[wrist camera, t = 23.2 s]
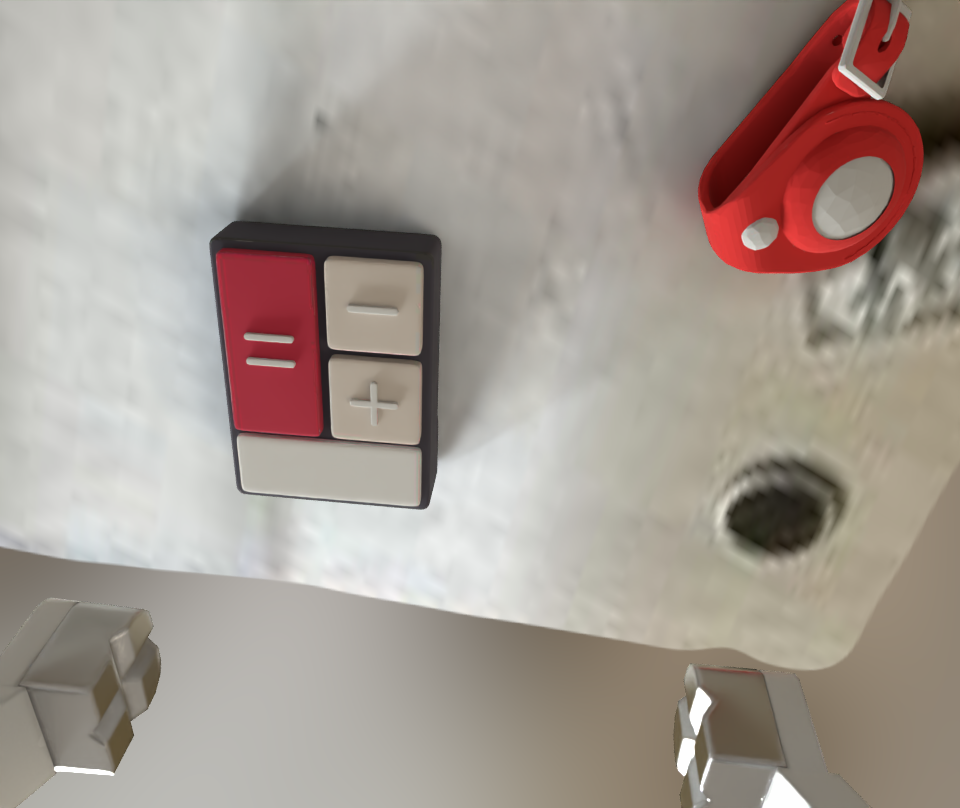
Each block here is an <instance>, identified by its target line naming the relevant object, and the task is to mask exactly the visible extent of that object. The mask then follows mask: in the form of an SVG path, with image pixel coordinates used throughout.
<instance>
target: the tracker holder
mask: <svg viewBox="0 0 960 808" xmlns="http://www.w3.org/2000/svg"><path fill="white" fill-rule="evenodd" d="M911 14H912V12H911V9H909V8H908V7H907V6H906V5H905V4H904V3H903V2H902V0H847V1H846V2H845V3H843V4H842V5H841V6H840V7H839V8H838V9H836V10H835V11H834V12H833V13H832V14H831V16H830V17H829V18H828V19H827V20H826V21H825V23H824V24H823V25H822V26H821V27H820V29H819V30H818V31H817V32H816V33H815V35H814V36H813V37H812V38H811V39H810V41H809V42H808V43H807V44H806V46H805V47H804V48H803V49H802V51H801V52H800V53H799V54H798V56H797V57H796V58H795V60H794V61H793V62H792V63H791V65H790V66H789V67H788V68H787V69H786V71H785V72H784V73H783V74H782V75H781V76H780V78H779V79H778V80H777V81H776V82H775V84H774V85H773V86H772V87H771V88H770V89H769V91H768V92H767V93H766V94H765V95H764V97H763V98H762V99H761V100H760V101H759V102H758V104H757V105H756V106H755V107H754V108H753V110H752V111H751V112H750V113H749V114H748V115H747V117H746V118H745V119H744V120H743V121H742V122H741V124H740V125H739V126H738V127H737V128H736V130H735V131H734V132H733V133H732V134H731V135H730V137H729V138H728V139H727V140H726V141H725V142H724V144H723V145H722V146H721V147H720V148H719V149H718V151H717V152H716V153H715V154H714V155H713V157H712V158H711V160H710V161H709V163H708V164H707V166H706V167H705V169H704V171H703V173H702V176H701V178H700V182H699V187H698V198H699V203H700V207H701V211H702V216H703V220H704V224H705V228H706V233H707V236H708V239H709V243H710V245H711V247H712V248H713V250H714V251H715V252H716V254H717V255H718V256H719V257H720V258H721V259H722V260H723V261H724V262H725V263H726V264H728V265H731V266H733V267H735V268H737V269H740V270H743V271H747V272H754V273H804V272H815V271H821V270H826V269H831V268H835V267H839V266H842V265H845V264H847V263H849V262H852V261H853V260H855V259H857V258H858V257H860V256H861V255H863V254H865V253H866V252H867V251H869V250H870V249H871V248H872V247H874V246H875V245H876V244H877V243H879V242H880V241H881V240H882V239H883V238H884V237H885V236H886V235H887V234H888V233H889V231H890V230H891V229H892V228H893V227H894V226H895V225H896V223H897V222H898V221H899V219H900V218H901V217H902V215H903V214H904V212H905V210H906V209H907V207H908V205H909V204H910V202H911V200H912V198H913V196H914V194H915V192H916V189H917V186H918V183H919V180H920V177H921V172H922V167H923V143H922V138H921V135H920V132H919V129H918V127H917V125H916V124H915V122H914V121H913V119H912V118H911V117H910V116H909V115H908V114H907V113H906V112H905V111H904V110H902V109H901V108H900V107H898V106H895V105H893V104H891V103H889V102H887V101H884V100H880V99H882V98H884V97H885V95H886V92H887V89H888V86H889V83H890V80H891V76H892V73H893V70H894V67H895V64H896V61H897V58H898V57H899V55H900V53H901V52H902V50H903V48H904V45H905V42H906V39H907V34H908V29H909V21H910V18H911ZM836 36H837V37H836ZM835 37H836V38H835ZM834 38H835V39H834ZM871 96H872V97H873V98H875V99H872V98H871ZM749 172H750V173H749ZM746 176H747V177H746ZM745 177H746V178H745ZM744 178H745V179H744ZM743 179H744V180H743Z"/></svg>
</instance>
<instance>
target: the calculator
mask: <svg viewBox="0 0 960 808" xmlns="http://www.w3.org/2000/svg"><path fill="white" fill-rule="evenodd" d="M210 255H211V264H212V273H213V282H214V291H215V299H216V308H217V317H218V326H219V335H220V343H221V352H222V361H223V370H224V379H225V387H226V396H227V405H228V414H229V423H230V431H231V440H232V449H233V458H234V467H235V475H236V484H237V489H238V490H239V491H240V492H241V493H243V494H250V495H261V496H272V497H284V498H295V499H306V500H318V501H329V502H340V503H351V504H363V505H374V506H385V507H397V508H408V509H421V510H422V509H426V508H427V507H428V506H429V503H430V499H431V495H432V491H433V487H434V483H435V478H436V474H437V455H438V417H437V406H438V366H439V326H440V286H441V241H440V239H439V238H438V237H437V236H435V235H427V234H413V233H399V232H385V231H371V230H357V229H343V228H329V227H315V226H301V225H287V224H273V223H258V222H244V221H234V222H232V223H230V224H229V225H228V226H227V227H225V228H224V229H223V230H222V231H220V232H219V233H218V234H217V235H215V236H214V237H213V238H212V239H211V241H210Z"/></svg>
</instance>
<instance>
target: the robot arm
mask: <svg viewBox="0 0 960 808" xmlns="http://www.w3.org/2000/svg"><path fill="white" fill-rule="evenodd" d="M152 629H153V622H152V619H151V615H150V612H149V611H148V610H144V609H137V608H130V607H122V606H115V605H107V604H99V603H91V602H83V601H72V600H64V599H56V598H48V599H46V600H45V601H43V602H42V603H40V604H39V605H38V606H37V607H36V608H35V610H34V611H33V612H32V614H31V615H30V616H29V618H28V619H27V620H26V622H25V623H24V624H23V626H22V627H21V628H20V630H19V631H18V632H17V634H16V635H15V636H14V638H13V639H12V640H11V642H10V643H9V644H8V646H7V647H6V648H5V650H4V651H3V653H2V654H1V655H0V808H16V807H17V806H18V805H19V804H21V803H22V802H23V801H24V800H25V799H26V798H28V797H29V796H30V795H31V794H33V793H34V792H35V791H36V790H37V789H38V788H40V787H41V786H42V785H43V784H45V783H46V782H47V781H48V780H49V779H50V778H51V777H53V776H54V775H55V774H56V770H61V771H72V772H84V773H96V774H109V775H114V773H115V771H116V769H117V767H118V765H119V763H120V761H121V759H122V757H123V755H124V753H125V752H126V749H127V748H128V746H129V744H130V742H131V740H132V738H133V736H134V734H133V730H132V726H131V722H130V721H132V720H133V719H135V718H136V717H137V716H139V715H140V714H142V713H143V712H145V711H146V710H147V709H148V707H149V705H150V703H151V701H152V699H153V697H154V695H155V693H156V688H157V685H158V681H159V677H160V671H161V658H160V653H159V648H158V647H157V645H155V644H154V643H153V642H152V641H151V640H150V639H149V638H148V636H149V634H150V632H151V630H152ZM684 685H685V692H686V696H685V697H683V698H682V699H681V700H679V701H678V706H677V710H676V715H675V723H674V753H675V762H676V767H677V768H678V769H679V771H680V772H681V773H682V774H683V775H684V781H683V785H682V789H681V792H680V801H681V808H871V806H870V805H869V804H867V802H866V801H865V800H863V798H862V797H861V796H860V795H859V794H858V793H857V792H856V791H855V790H854V789H853V788H852V787H851V786H850V785H849V784H848V783H847V782H846V781H845V780H844V779H843V778H842V777H841V776H840V775H839V774H834V773H828V770H827V767H826V764H825V761H824V757H823V754H822V751H821V748H820V744H819V741H818V738H817V735H816V732H815V728H814V725H813V722H812V719H811V715H810V712H809V709H808V706H807V702H806V699H805V696H804V693H803V689H802V686H801V683H800V680H799V678H798V677H797V676H796V675H795V674H794V673H785V672H775V671H765V670H759V671H758V670H756V669H747V668H736V667H725V666H714V665H702V664H690V665H689V667H688V668H687V671H686V675H685V678H684Z"/></svg>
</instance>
